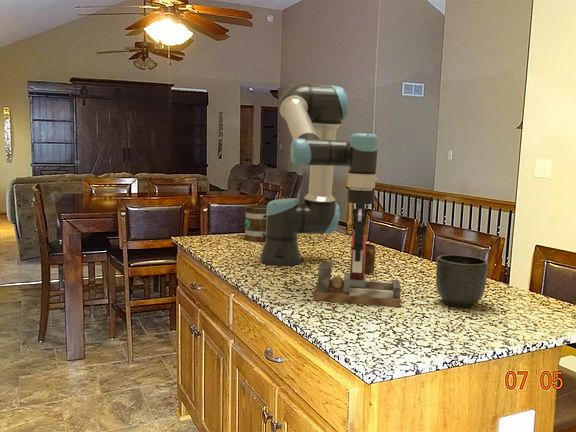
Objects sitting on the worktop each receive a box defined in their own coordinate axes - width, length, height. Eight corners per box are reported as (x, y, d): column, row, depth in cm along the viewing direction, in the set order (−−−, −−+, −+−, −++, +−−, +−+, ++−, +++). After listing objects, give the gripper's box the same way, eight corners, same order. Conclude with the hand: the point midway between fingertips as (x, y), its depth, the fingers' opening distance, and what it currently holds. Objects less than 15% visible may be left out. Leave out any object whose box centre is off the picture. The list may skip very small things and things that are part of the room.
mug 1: (238, 237, 248) (239, 205, 246) (264, 236, 255) (265, 204, 253) (257, 245, 231) (258, 210, 229) (284, 243, 238) (286, 210, 236)
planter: (478, 314, 144) (482, 267, 142) (427, 304, 151) (430, 259, 149) (489, 302, 156) (493, 258, 154) (441, 294, 163) (444, 252, 161)
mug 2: (382, 276, 182) (384, 249, 181) (361, 277, 181) (362, 249, 179) (369, 268, 194) (371, 243, 193) (349, 269, 192) (350, 243, 191)
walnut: (327, 289, 156) (327, 275, 155) (336, 287, 159) (337, 273, 158) (337, 292, 153) (337, 278, 152) (346, 290, 156) (347, 276, 155)
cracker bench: (313, 300, 151) (314, 268, 150) (317, 289, 163) (318, 260, 162) (399, 307, 148) (402, 275, 146) (397, 295, 159) (399, 265, 158)
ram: (343, 292, 152) (346, 237, 150) (344, 286, 159) (347, 232, 157) (364, 294, 151) (367, 238, 149) (364, 287, 158) (368, 234, 156)
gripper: (375, 192, 142) (370, 278, 145) (374, 187, 159) (370, 265, 162) (346, 190, 143) (342, 276, 146) (349, 186, 160) (345, 263, 163)
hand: (357, 270), depth 154 cm, fingers closed on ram, 4 cm apart
